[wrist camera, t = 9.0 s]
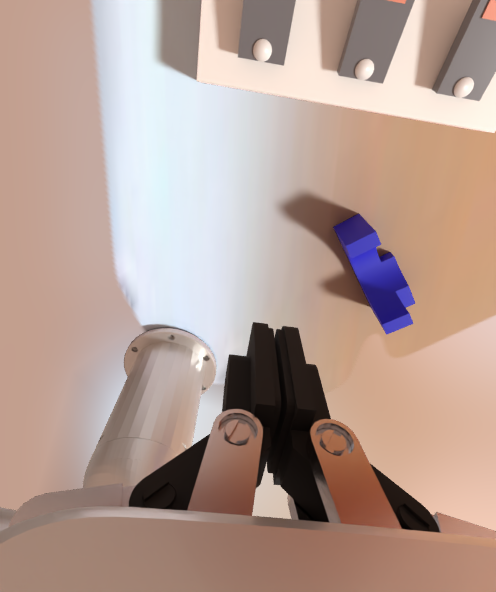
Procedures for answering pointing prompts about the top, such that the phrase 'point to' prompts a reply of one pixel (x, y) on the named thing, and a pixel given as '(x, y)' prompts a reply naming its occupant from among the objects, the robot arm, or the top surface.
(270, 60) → the grey rectangular block
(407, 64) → the power strip
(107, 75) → the top surface
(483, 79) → the grey flat block
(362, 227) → the cable clip
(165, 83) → the top surface
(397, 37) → the block
